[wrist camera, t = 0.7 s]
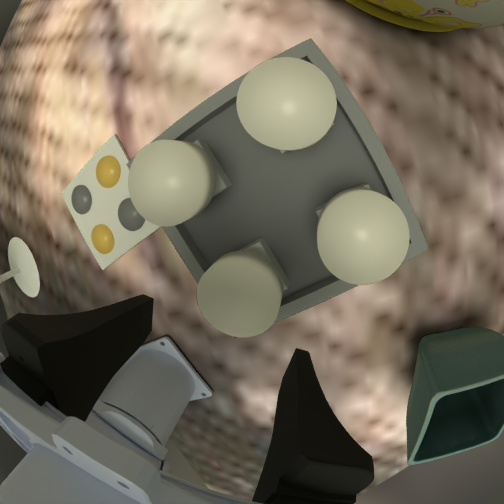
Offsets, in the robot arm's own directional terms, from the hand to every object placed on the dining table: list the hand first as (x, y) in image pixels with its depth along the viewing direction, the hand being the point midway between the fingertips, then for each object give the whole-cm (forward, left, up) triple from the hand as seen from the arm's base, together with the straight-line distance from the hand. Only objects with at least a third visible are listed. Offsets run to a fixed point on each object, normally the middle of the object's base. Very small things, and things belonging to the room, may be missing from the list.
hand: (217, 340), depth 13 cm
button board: (+4, +4, -9) cm, 11 cm away
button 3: (0, 0, -7) cm, 7 cm away
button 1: (+8, 0, -7) cm, 11 cm away
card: (-9, +11, -9) cm, 17 cm away
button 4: (0, +8, -7) cm, 11 cm away
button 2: (+8, +8, -7) cm, 13 cm away
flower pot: (+11, -15, -10) cm, 21 cm away
